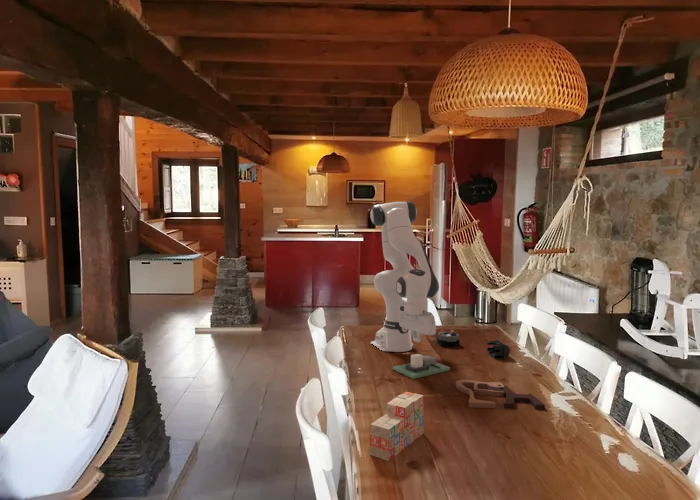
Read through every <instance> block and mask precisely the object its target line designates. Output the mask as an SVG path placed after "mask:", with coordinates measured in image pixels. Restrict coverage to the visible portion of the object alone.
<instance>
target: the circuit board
mask: <svg viewBox="0 0 700 500" xmlns="http://www.w3.org/2000/svg"><path fill="white" fill-rule="evenodd" d="M392 369H393V371H394V370H395V371H394V372H397V373H400V374H401V373H402V374H401V375H403V374H404V376H406V377H408V378H411V379H413V380H414V379H419V378H422V377H423V378H424V377H427V376H431V375H436V374H440V373H444V372H448V371H451V367H450V366H448V365H445V364H442V363H439V362H437V357H434V356H431V355H429V354H424V355H423V367H418V368H413V367H411V362H409V363H405V364H399V365H395V366H392Z"/></svg>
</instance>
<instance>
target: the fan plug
mask: <svg viewBox="0 0 700 500" xmlns="http://www.w3.org/2000/svg"><path fill="white" fill-rule="evenodd" d="M423 356H424V355H423V354H421V353H420V354H419V353H415V354H410V363H411V367H413V368H418V367H423Z"/></svg>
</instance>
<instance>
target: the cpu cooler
mask: <svg viewBox="0 0 700 500" xmlns="http://www.w3.org/2000/svg"><path fill="white" fill-rule="evenodd" d="M436 343H437V344H438V345H439V346H440V348H442V347H443V348H454V346H455V348H456V347H457V348H458V347H460V334H458V333H456V332H453V331H440V332H438V333H437V337H436Z"/></svg>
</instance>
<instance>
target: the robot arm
mask: <svg viewBox="0 0 700 500" xmlns="http://www.w3.org/2000/svg"><path fill="white" fill-rule="evenodd" d="M369 214H370V215H369V216H370V220H371V223H372V225H374V226H376V227H381V245H382V252H383V258H384V260H386V261H387V262H389V264H390V265H391V266H392V268H393V269H389V270H388V269H386V270H382V271H381V272H378V273H376V275H375V276H374V279H373V285H374V288H375V290H376V291H377V292H378V293H380V295H381V296H382V297H383V300H384V303H385V315H386V316H385V318H386V319H383V321H382V322H383V324H384V325H383V327H381V328H380V329H379V330H378V331H377V332H376V333H375V339H374V340H373V341H370V345H371V344H373V345H374V346H373V345H372V346H373V347H375V346H376V347H377V349H378V348H379V349H378V350H379V351H381V350H382V351H381V352H391V353H392V352H394V353H401V352H403V353H405V352H408V351H412V349H413V346H414V343H413V342H412V341H414V342H416V343H421V342H422V341H421V340H422V337H423V335H426V336H435V335H436V333H437V326H436V320H435V316H434V314H433V313H432V312H430V311H428V310H429V301H428V299H429V298H430V299H431V298H433V297H435V296H436V295H437V294H438V292H439V290H440V284H439V281H438V280H439V279H438V278H437V276H436V274H435V273H434V270H433V267H432V265H431V262H430V259H429V257H428V254H427V252H426V251H427V250H426V249H425V246H424V244H423V242H422V241H421V240H419V239H417V237H416V235H415V234H414V232H413V227H412V223H414V222H415V221H416V219H417V214H418V210H417V207H416V204H415V203H414V202H413V201H409V200H406V201H391V202H386V203H385V202H384V203H378V204H374V205H373V206H372V207H371V210H370V213H369ZM408 255H410V256H412V257H413V258H414V259H415V260H416V262H417V264H418V265H417V266H418V267H419V269H417V268H416V269H415V267H413V265H412V264H411V262H410V260H409V258H408ZM403 298H404V299H406V300H404V299H403ZM376 347H375V348H376Z"/></svg>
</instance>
